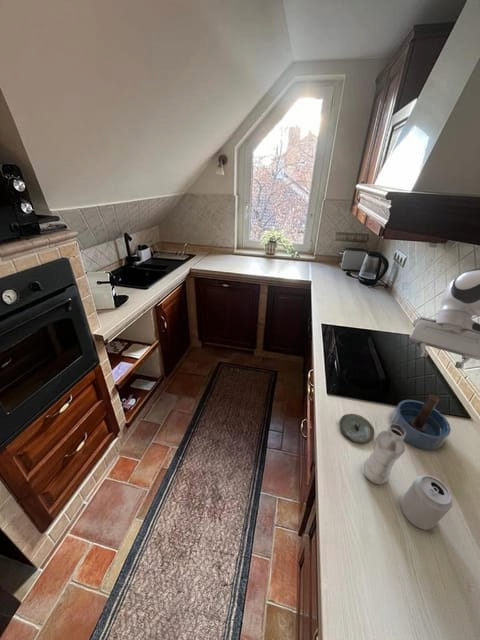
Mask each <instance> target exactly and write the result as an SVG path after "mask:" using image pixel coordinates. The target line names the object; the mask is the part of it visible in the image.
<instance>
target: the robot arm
mask: <svg viewBox="0 0 480 640" xmlns="http://www.w3.org/2000/svg"><path fill="white" fill-rule="evenodd" d="M474 316H476V317H480V267H476V268H471V269H469V270H465V271H463V272H462V273H460V274H459V275H457V277H455V279H453V280H451V281H450V282H449V283H448V284H447V286H446V288H445V290H444V292H443V295H442V298H441V301H440V309H439V310H438V312H437V315H436V318H429V317H425V316H417V317H416V318H414V319H413V322H412V326H413V328H412V330H411V332H410V334H409V340H410V342H413V343H417V344H419V349H420V352H421V353H420V358H423V359H427V358H428V355H429V352H428V351H426V347H431V348H434V349H437V350H441V351H444V352H448V353H452V354H455V355H459V356H462V357H461V359H462V360H461V361H456V362H455V365H454V368H456V369H459V370H461V369H463V368H464V364H466V363H467V362H469V361H470V359H473V360H476V361H480V322H479V323H478V322H477V321H475V320H473V319H472V318H473V317H474Z"/></svg>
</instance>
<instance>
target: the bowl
mask: <svg viewBox="0 0 480 640" xmlns="http://www.w3.org/2000/svg"><path fill="white" fill-rule="evenodd" d="M424 404H425V402H422V401H420V400H414V399H404V400H401V401H400V402H399V403H398V404H397V406H396V408H395V410H394V412H393V414H392V415H391V424H398V425H400V426H401V427H403V428H404V430H405V432H406V435H405V437H404V440H403V441H404V442H406V443H408V444H410V445H411V446H414V447H416V448H419V449H421V450H426V451H434V450H438V449H439V448H440V447H442V446H443V444H444V442H446V440H447V438H448V437H449V436H450V433H451V431H452V430H451V425H450V422H449V421H448V420H447V418H446V417H445V416H444V415H443V414H442V413H441V412H440V411H439V410H437V409H436V408H434V410H433V411H432V413H431V414H430V416H429V418H428V419H427V421H426V423H425V425H426V430H425V432H424V433H422V432H420V431H418V430H416V429H415V428H413V427H412V426H410V425H409V422H410V420H411V419H416V418H417V416H418V414H419V412H420V411H421V409H422V407H423V405H424Z"/></svg>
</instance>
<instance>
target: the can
mask: <svg viewBox="0 0 480 640" xmlns="http://www.w3.org/2000/svg"><path fill="white" fill-rule="evenodd" d="M399 503H400V509H401V512H402V514H403V515H404V516H405V518H406V519H407V520H408V521H409V523H411V524H412V525H413V526H415V527H416V528H419V529H420V530H425V531H428V530H429V531H430V530H432V529H433V528H434V527H435V526H436V525H437V524H438V523H439V522H440V521H441V519H443V518H444V516H445V515H446V514H447V513H448V512H449V511H450V510H451V509H452V508H453V503H454V502H453V495H452V493H451V491H450V489H449V487H448V486H447V485H446V484H445V483H444V482H443V481H441V480H440V479H439V478H437V477H435V476H432V475H427V474H425V475H418V476H417V477H416V478H414V480H413V482H412V483H411V485H410V486H409V487H408V489H407V490H406V491H405V493H404V495H402V497H401V499H400V502H399Z"/></svg>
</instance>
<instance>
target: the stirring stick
mask: <svg viewBox="0 0 480 640" xmlns="http://www.w3.org/2000/svg"><path fill="white" fill-rule="evenodd" d="M439 401H440V398H439V396H437V395H435V394H431V393H430V394H429V395H428V396H427V398H426V400H425V401H424V403H425V404H424V405H423V407H422V409H421V411H420V412H419V414H418V416H417V418H416V419H411V420H410V422H409V425H410V426H412V427H413V428H415V429H416V430H418V431H420V432H422V433H424V432H425V430H426V425H425V423H426V421H427V419H428V418H429V416H430V414H431V413H432V411H433V410H434V409H436V406H437V405H438V403H439Z"/></svg>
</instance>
